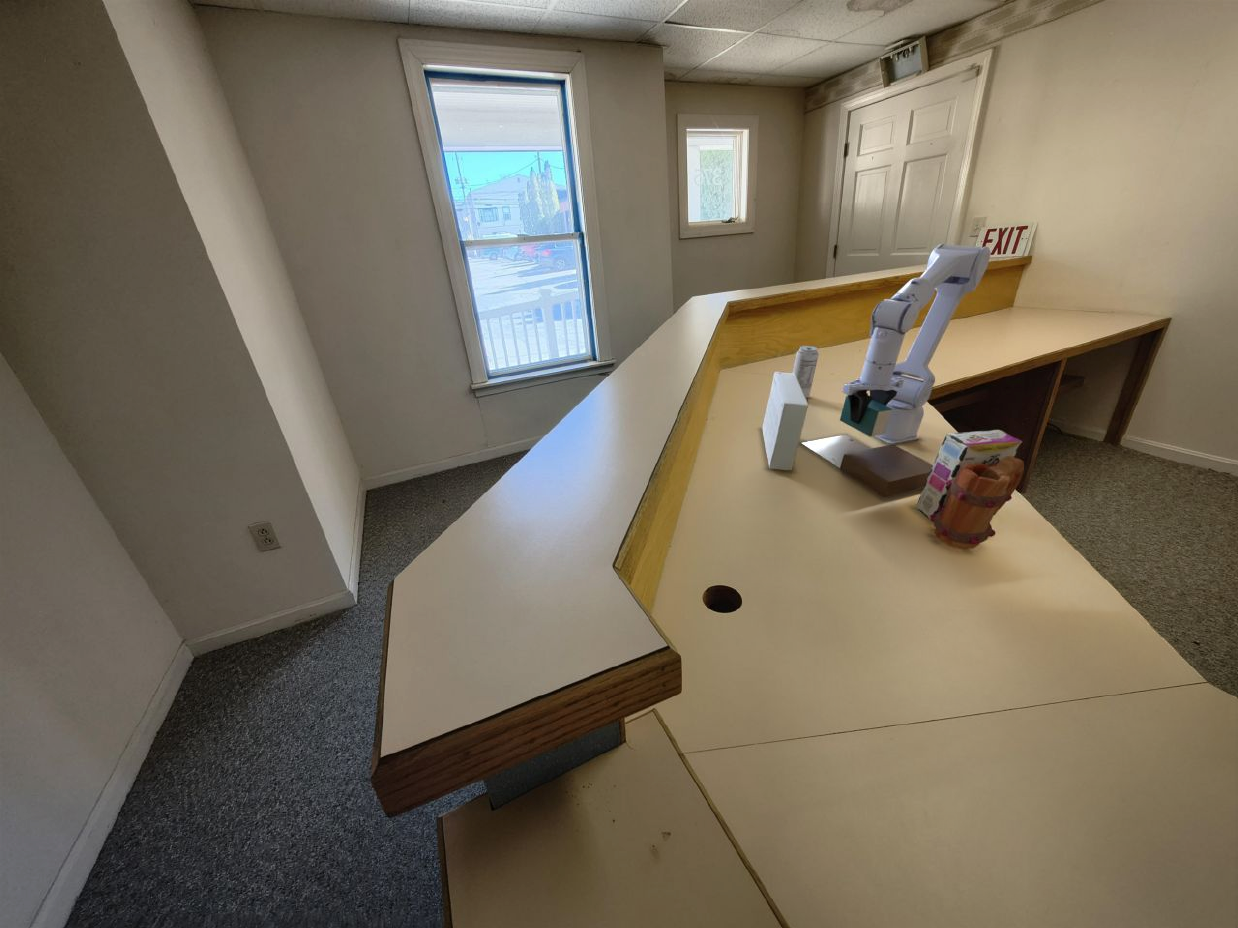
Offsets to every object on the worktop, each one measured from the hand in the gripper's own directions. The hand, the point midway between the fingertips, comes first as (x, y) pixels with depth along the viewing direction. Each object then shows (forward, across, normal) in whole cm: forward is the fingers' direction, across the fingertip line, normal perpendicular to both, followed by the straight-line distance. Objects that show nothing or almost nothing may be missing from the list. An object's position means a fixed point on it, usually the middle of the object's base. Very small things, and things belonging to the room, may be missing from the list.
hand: (863, 420), depth 101 cm
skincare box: (+10, -14, +9) cm, 19 cm away
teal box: (+2, 0, 0) cm, 2 cm away
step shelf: (+9, 0, -4) cm, 10 cm away
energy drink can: (+10, +13, +36) cm, 39 cm away
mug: (+10, -3, -30) cm, 31 cm away
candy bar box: (+10, +1, -24) cm, 25 cm away
